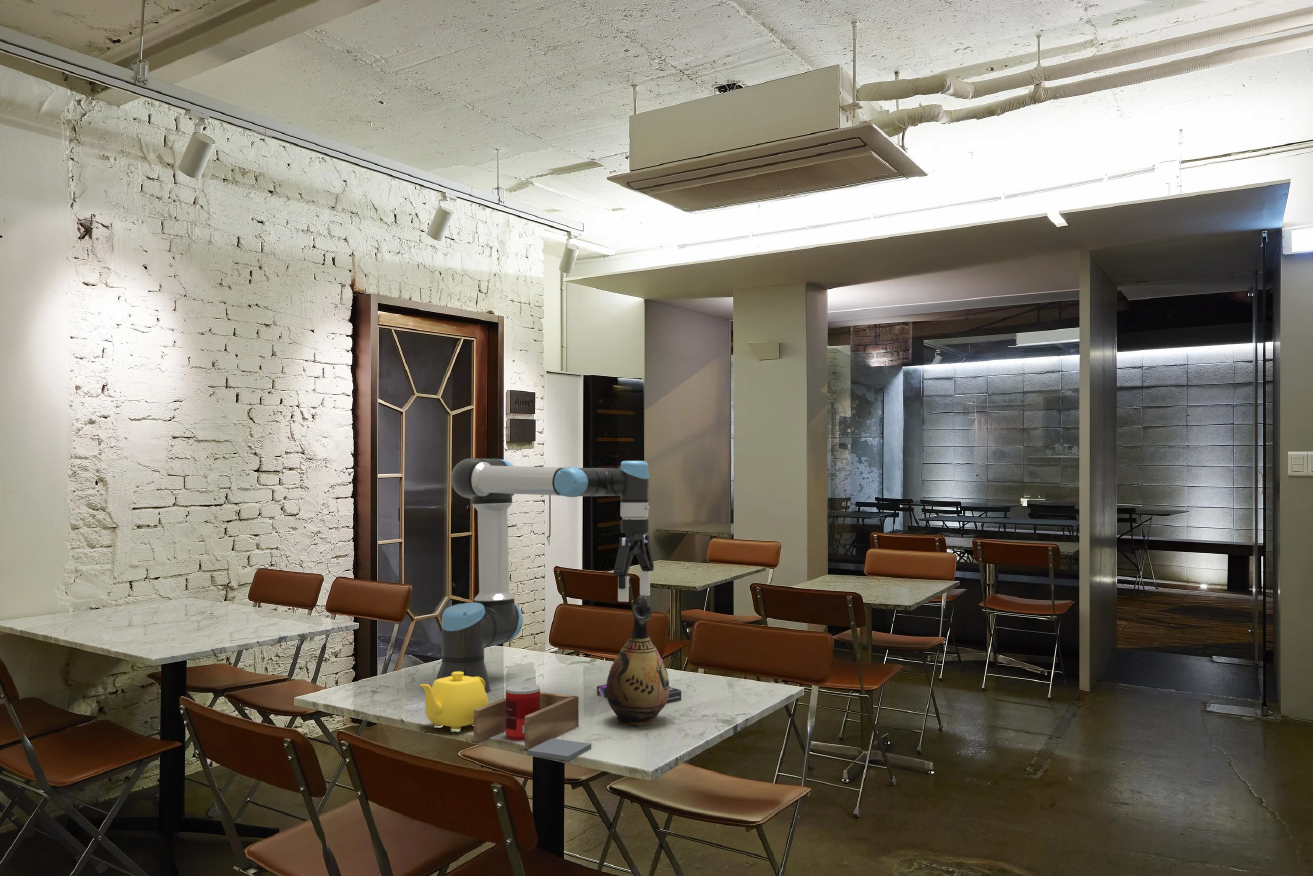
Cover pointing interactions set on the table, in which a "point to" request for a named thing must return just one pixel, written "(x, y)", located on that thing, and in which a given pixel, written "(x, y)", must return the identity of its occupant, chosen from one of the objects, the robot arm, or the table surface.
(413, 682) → the table surface
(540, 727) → the shelf
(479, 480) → the robot arm
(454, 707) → the teapot
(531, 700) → the canned food
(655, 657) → the ceramic jug
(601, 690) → the box
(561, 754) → the coaster
